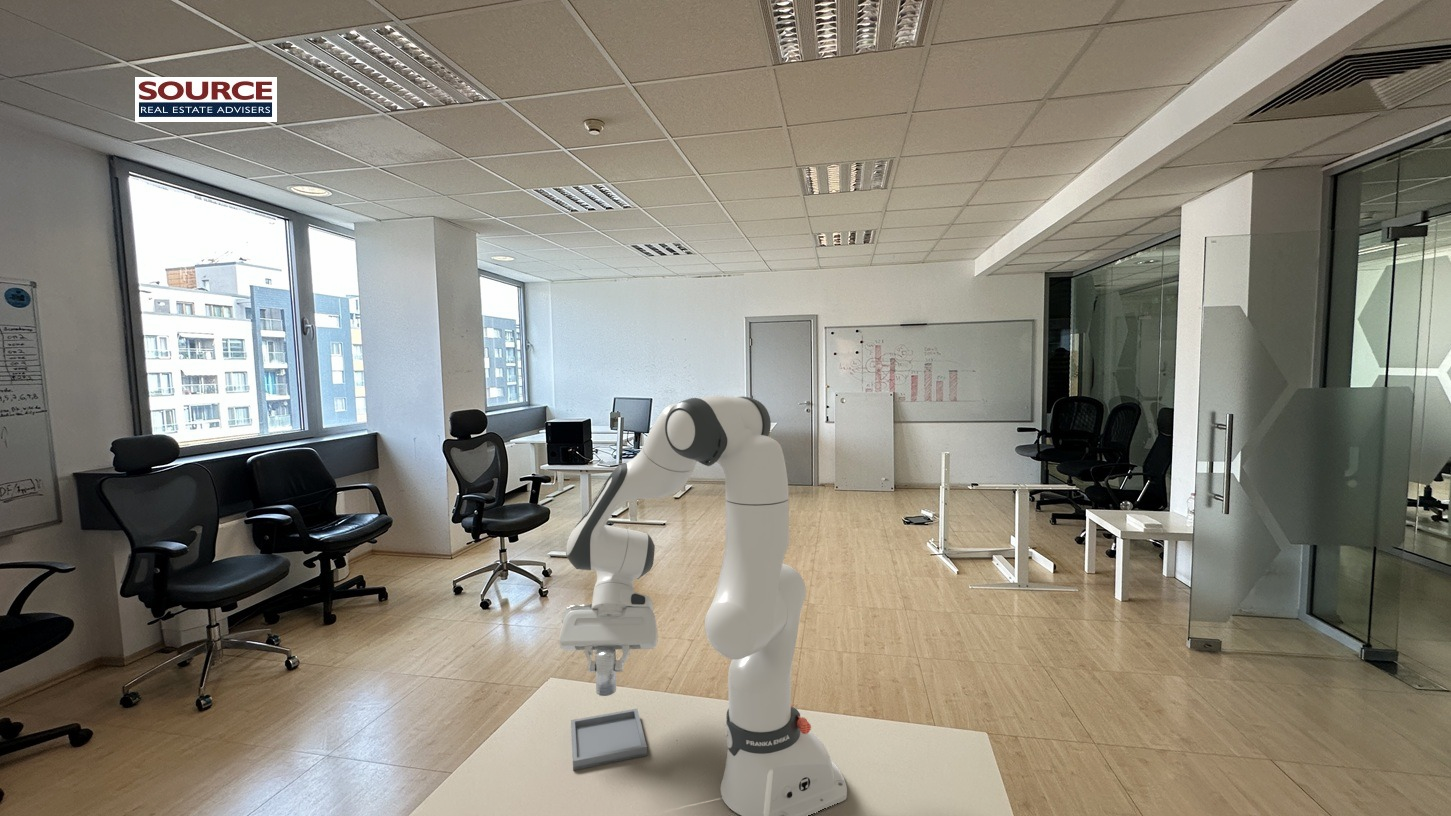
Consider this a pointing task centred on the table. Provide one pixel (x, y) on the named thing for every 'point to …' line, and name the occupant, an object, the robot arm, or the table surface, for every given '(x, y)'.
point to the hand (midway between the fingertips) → (605, 671)
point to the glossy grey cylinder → (605, 671)
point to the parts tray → (607, 739)
